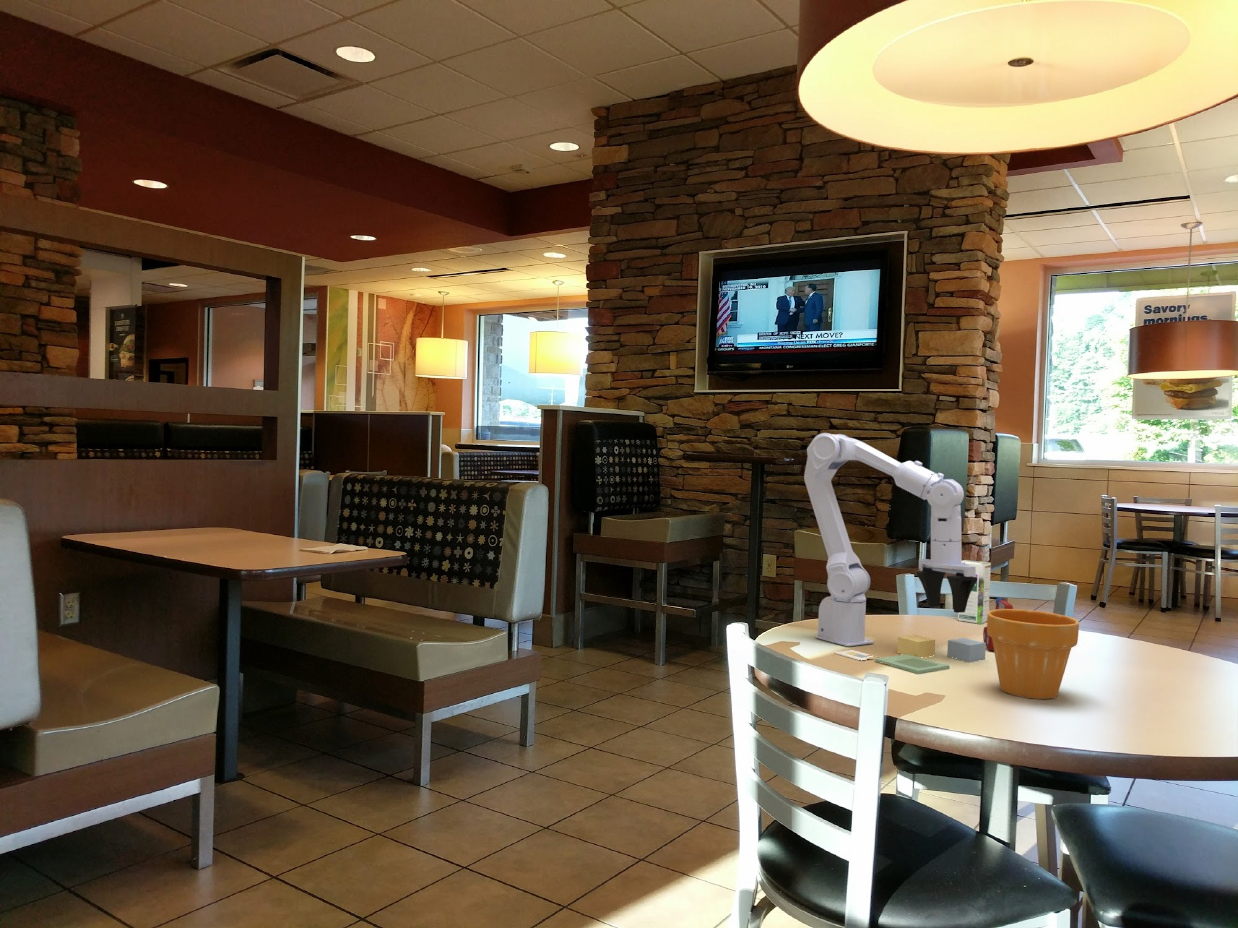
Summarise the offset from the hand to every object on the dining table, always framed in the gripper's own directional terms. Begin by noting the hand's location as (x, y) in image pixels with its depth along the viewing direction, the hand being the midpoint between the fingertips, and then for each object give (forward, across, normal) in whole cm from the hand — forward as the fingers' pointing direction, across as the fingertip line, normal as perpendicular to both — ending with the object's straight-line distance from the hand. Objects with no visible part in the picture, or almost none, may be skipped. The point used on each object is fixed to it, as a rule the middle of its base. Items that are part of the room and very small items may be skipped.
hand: (946, 609), depth 177 cm
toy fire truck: (+10, +4, -18) cm, 21 cm away
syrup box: (+10, +31, -32) cm, 46 cm away
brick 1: (+9, +3, +5) cm, 11 cm away
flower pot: (+10, -25, +3) cm, 27 cm away
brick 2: (+10, -1, -3) cm, 10 cm away
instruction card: (+9, +4, +18) cm, 20 cm away
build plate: (+9, -4, +11) cm, 15 cm away
